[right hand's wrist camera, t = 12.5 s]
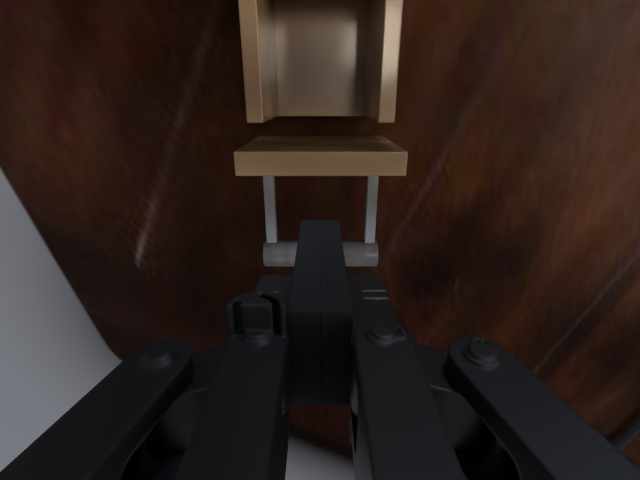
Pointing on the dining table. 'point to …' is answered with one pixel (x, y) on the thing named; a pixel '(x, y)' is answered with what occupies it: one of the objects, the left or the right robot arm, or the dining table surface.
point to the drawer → (320, 100)
